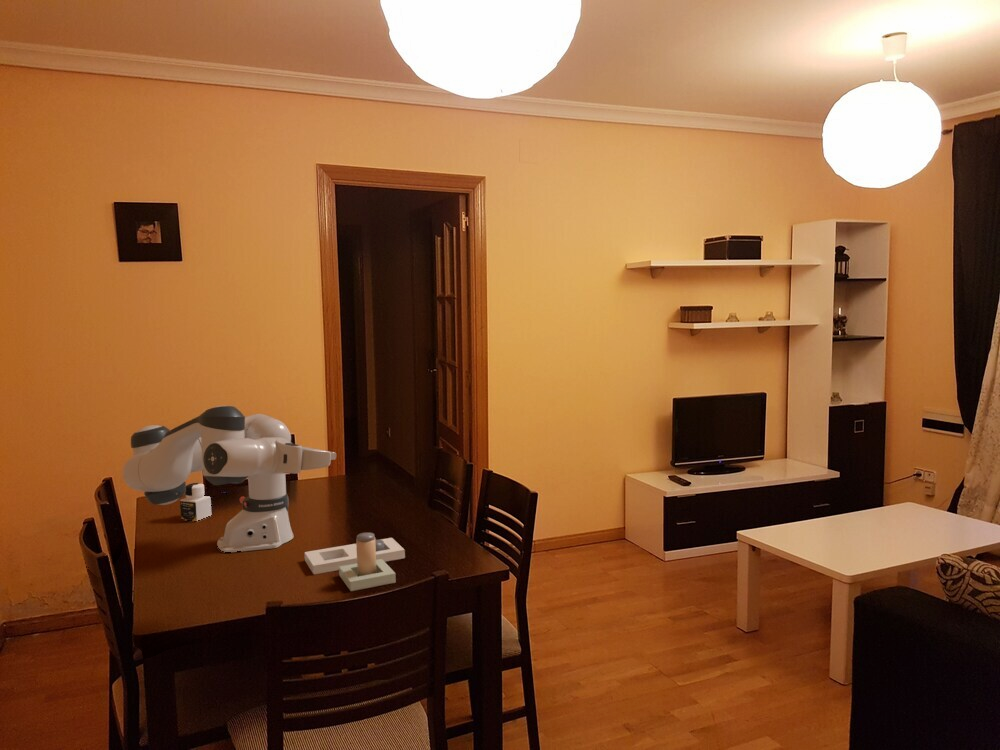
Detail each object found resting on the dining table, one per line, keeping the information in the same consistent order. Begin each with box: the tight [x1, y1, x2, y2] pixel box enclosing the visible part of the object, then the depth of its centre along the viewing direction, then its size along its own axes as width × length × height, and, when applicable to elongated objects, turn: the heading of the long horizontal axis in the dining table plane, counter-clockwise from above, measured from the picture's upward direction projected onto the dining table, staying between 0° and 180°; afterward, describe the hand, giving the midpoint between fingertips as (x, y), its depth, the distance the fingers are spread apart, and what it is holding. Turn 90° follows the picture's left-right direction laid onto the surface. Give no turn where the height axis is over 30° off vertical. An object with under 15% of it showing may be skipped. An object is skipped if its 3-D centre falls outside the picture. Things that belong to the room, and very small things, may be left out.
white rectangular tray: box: [304, 537, 406, 575], centre depth 206 cm, size 26×12×4 cm, turn 116°
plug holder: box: [338, 559, 397, 592], centre depth 192 cm, size 12×12×2 cm
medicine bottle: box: [179, 482, 213, 522], centre depth 248 cm, size 7×7×12 cm
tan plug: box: [355, 532, 377, 577], centre depth 191 cm, size 5×5×12 cm
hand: (322, 453), depth 182 cm, fingers open, 8 cm apart
